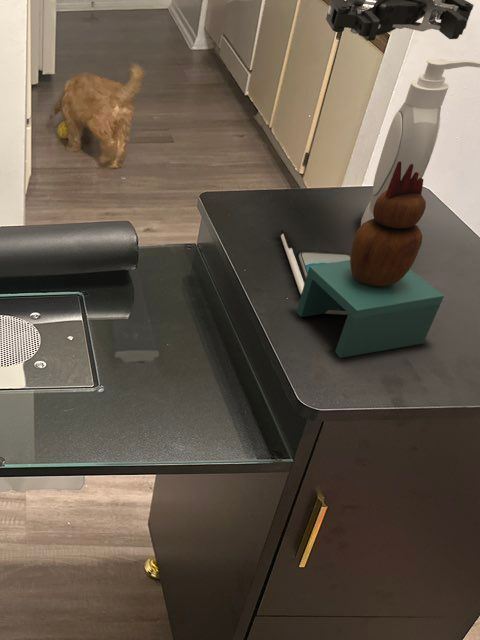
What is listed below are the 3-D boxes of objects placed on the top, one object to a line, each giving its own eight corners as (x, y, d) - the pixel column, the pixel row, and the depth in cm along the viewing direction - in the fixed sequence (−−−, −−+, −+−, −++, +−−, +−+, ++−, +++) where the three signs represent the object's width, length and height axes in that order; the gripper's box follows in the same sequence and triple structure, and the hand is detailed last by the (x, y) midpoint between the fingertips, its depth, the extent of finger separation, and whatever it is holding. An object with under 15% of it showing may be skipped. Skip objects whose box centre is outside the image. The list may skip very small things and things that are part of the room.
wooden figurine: (346, 290, 86) (386, 169, 76) (339, 264, 90) (377, 147, 80) (409, 295, 84) (458, 172, 74) (399, 269, 88) (445, 150, 79)
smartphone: (351, 253, 104) (377, 313, 93) (349, 259, 104) (374, 319, 93) (298, 251, 105) (317, 309, 94) (296, 256, 106) (315, 315, 94)
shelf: (373, 299, 96) (390, 253, 91) (423, 343, 88) (444, 295, 84) (295, 312, 94) (309, 266, 90) (340, 358, 87) (357, 310, 82)
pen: (284, 233, 110) (286, 227, 109) (309, 305, 95) (311, 297, 95) (278, 233, 110) (280, 227, 109) (302, 304, 95) (304, 297, 95)
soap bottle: (424, 254, 103) (495, 78, 87) (365, 250, 105) (424, 76, 89) (408, 212, 113) (470, 46, 97) (354, 209, 114) (406, 45, 99)
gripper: (322, -38, 90) (356, -6, 77) (446, -42, 88) (501, -10, 75) (307, 27, 95) (337, 67, 82) (424, 25, 92) (473, 65, 80)
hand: (415, 30), depth 79 cm, fingers open, 8 cm apart
